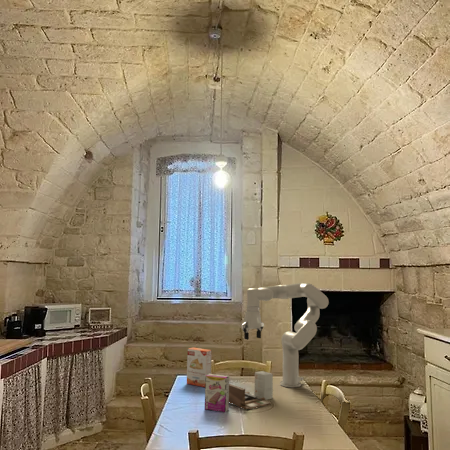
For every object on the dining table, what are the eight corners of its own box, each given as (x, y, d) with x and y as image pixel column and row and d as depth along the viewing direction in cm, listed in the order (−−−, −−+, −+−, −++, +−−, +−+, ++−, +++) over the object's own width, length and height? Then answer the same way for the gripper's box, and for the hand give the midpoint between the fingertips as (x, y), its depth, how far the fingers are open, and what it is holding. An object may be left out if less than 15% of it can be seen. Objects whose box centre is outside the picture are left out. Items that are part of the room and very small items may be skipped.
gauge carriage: (244, 396, 233) (244, 392, 234) (264, 403, 221) (264, 399, 221) (233, 398, 229) (233, 394, 229) (253, 406, 217) (253, 401, 217)
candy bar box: (204, 410, 212) (204, 375, 214) (207, 407, 217) (208, 373, 219) (225, 412, 209) (226, 377, 210) (229, 409, 213) (229, 375, 215)
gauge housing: (247, 396, 237) (247, 379, 238) (270, 404, 223) (270, 386, 224) (224, 401, 227) (224, 383, 228) (247, 410, 213) (247, 391, 214)
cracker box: (186, 384, 259) (187, 348, 262) (192, 382, 265) (193, 347, 267) (205, 387, 252) (206, 351, 254) (211, 385, 257) (212, 349, 259)
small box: (272, 398, 234) (273, 373, 235) (264, 400, 230) (264, 375, 231) (262, 394, 240) (262, 370, 242) (254, 396, 236) (254, 372, 238)
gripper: (259, 308, 267) (259, 336, 265) (237, 309, 256) (237, 338, 254) (267, 309, 261) (267, 338, 259) (246, 310, 250) (245, 340, 248)
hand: (252, 338), depth 257 cm, fingers open, 9 cm apart
